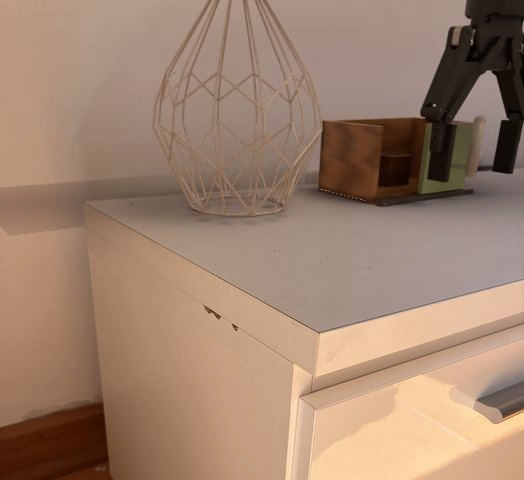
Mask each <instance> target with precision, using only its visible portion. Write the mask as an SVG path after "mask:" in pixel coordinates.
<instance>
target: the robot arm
mask: <svg viewBox="0 0 524 480" xmlns="http://www.w3.org/2000/svg"><path fill="white" fill-rule="evenodd" d="M464 16H465V18H466V19H468V20H470V23H469V24H467V25H453V26H450V27H449V29H448V31H447V37H446V42H445V47H444V50H443V54H442V56H441V58H440V60H439V63H438V65H437V68H436V70H435V72H434V75H433V78H432V80H431V83H430V85H429V87H428V89H427V93H426V95H425V98H424V100H423V103H422V104H421V108H420V111H419V114H420V118H425V121H426V122H431V123H432V130H431V139H430V145H429V150H430V152H431V153H430V160H429V167H428V175H427V180H433V181H438V182H443V183H446V182H448V181H449V175H450V168H451V162H452V155H453V148H454V142H455V135H456V129H457V125H456V124H450V123H451V122H452V121H453V120H454V119H455V117H456V116H457V115H458V112H459V111H460V109H461V108H462V107H463V104H464V103H465V102H466V99H467V98H468V96H469V95H470V93H471V91H472V89H474V86H475V85H476V84H477V81H478V80H479V79H480V77H481V76H482V75H484V74H485V73H487V71H488V72H489V71H490V72H491V74H492V75H494V76H495V78H496V81H497V85H498V89H499V93H500V98H501V100H502V105H503V109H504V112H505V117H506V119H501V120H500V125H499V130H498V136H497V140H496V141H497V142H496V146H495V152H494V157H493V161H492V162H493V164H492V167H491V172H492V173H500V174H504V175H505V174H506V175H513V174H514V171H515V165H516V160H517V154H518V150H519V145H520V142H521V137H522V133H523V128H524V31H523V30H524V29H523V28H524V27H523V26H524V0H466V1H465V9H464ZM434 105H435V106H434Z"/></svg>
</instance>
